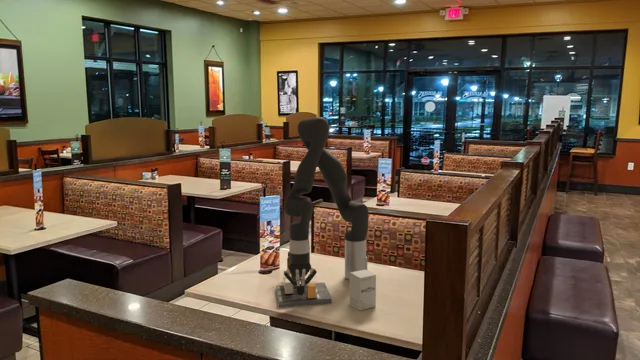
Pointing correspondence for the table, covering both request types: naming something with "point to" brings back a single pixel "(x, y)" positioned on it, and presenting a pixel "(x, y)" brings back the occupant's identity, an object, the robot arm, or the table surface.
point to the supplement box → (362, 289)
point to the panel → (303, 296)
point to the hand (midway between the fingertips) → (300, 294)
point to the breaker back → (284, 278)
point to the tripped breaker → (311, 290)
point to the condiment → (288, 267)
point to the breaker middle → (288, 286)
